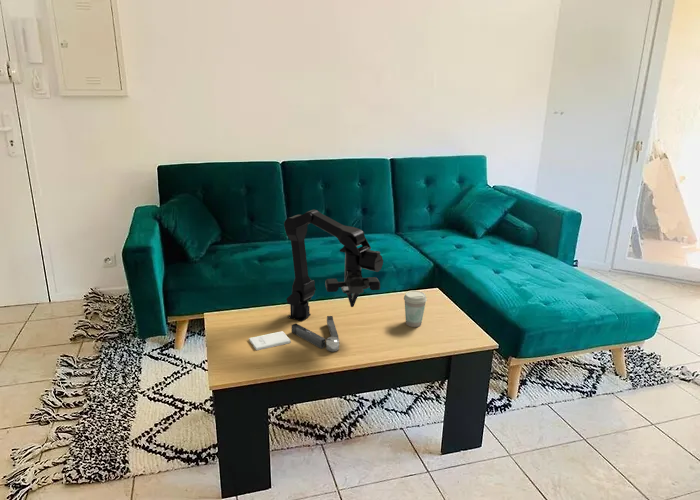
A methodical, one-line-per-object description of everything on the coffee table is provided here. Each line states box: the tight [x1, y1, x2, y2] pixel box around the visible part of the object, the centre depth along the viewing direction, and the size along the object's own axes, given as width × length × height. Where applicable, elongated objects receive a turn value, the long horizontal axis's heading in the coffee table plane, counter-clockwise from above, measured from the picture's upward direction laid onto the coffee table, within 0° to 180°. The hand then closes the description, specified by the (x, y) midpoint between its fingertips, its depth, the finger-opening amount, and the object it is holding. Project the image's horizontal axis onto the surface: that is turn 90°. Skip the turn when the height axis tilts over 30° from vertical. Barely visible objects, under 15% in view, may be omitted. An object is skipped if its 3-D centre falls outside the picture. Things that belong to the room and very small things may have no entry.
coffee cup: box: [403, 290, 428, 328], centre depth 198 cm, size 8×8×12 cm
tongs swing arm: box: [325, 315, 340, 352], centre depth 187 cm, size 21×5×3 cm, turn 10°
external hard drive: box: [248, 330, 292, 351], centre depth 184 cm, size 2×8×12 cm
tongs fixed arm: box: [291, 323, 326, 349], centre depth 185 cm, size 16×2×3 cm, turn 45°
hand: (351, 306), depth 188 cm, fingers closed
